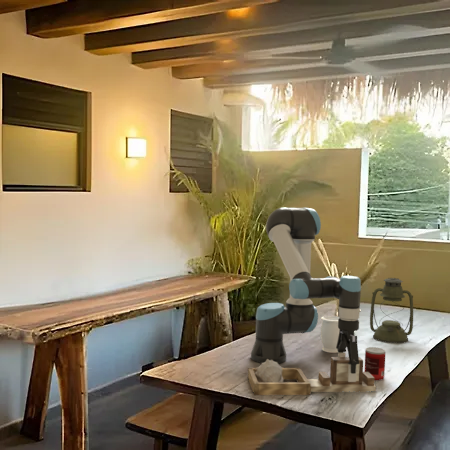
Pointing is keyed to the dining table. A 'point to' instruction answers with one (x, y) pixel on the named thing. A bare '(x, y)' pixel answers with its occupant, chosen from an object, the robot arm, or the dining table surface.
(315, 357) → the dining table surface
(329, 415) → the dining table surface
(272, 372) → the seashell
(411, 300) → the lantern
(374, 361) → the canned food
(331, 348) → the jar
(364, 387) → the ledge
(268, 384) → the shell cradle
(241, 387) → the dining table surface
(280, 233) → the robot arm
